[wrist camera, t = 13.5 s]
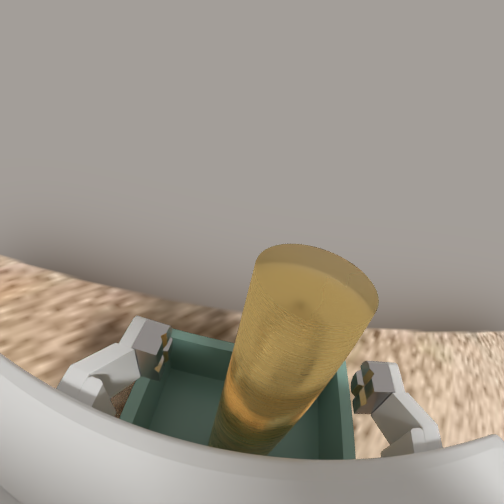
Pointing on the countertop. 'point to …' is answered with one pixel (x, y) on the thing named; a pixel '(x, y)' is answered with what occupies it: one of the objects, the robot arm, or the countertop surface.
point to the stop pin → (289, 343)
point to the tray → (208, 396)
